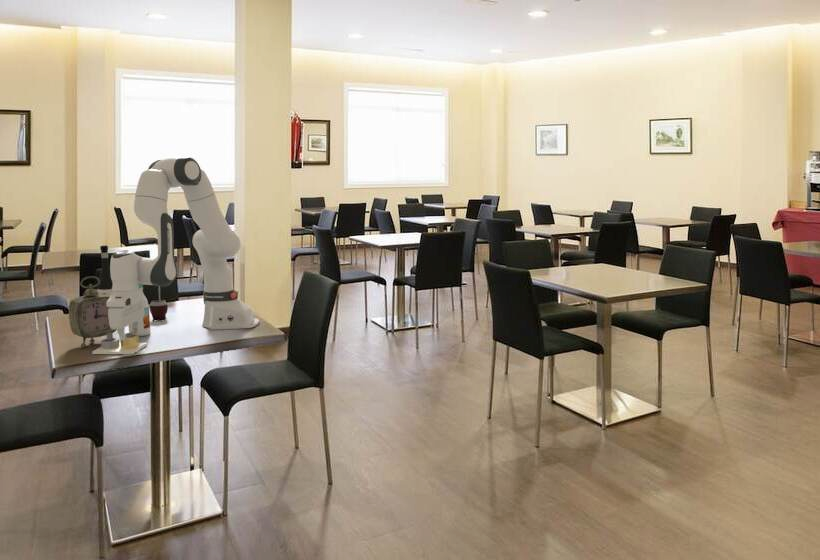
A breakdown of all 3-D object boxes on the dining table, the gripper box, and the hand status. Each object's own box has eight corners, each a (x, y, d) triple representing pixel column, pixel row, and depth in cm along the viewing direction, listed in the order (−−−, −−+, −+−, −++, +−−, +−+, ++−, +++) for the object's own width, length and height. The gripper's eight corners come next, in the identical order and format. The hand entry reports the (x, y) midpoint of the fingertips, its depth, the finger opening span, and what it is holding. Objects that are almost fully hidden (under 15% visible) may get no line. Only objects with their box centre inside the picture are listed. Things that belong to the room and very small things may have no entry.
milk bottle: (137, 337, 264) (134, 285, 261) (124, 335, 268) (120, 283, 265) (155, 333, 270) (151, 282, 267) (142, 331, 275) (138, 280, 271)
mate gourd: (156, 322, 290) (154, 286, 287) (146, 319, 294) (143, 284, 292) (172, 319, 296) (170, 284, 293) (161, 316, 300) (159, 282, 298)
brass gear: (125, 345, 249) (125, 334, 248) (140, 345, 249) (140, 334, 248) (119, 349, 244) (118, 337, 243) (134, 349, 243) (133, 337, 243)
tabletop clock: (80, 350, 247) (74, 280, 243) (69, 345, 253) (63, 277, 249) (120, 342, 258) (114, 275, 254) (108, 338, 264) (103, 272, 260)
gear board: (147, 346, 252) (145, 329, 251) (132, 355, 240) (131, 337, 239) (109, 345, 253) (107, 329, 252) (92, 354, 241) (91, 337, 240)
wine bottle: (114, 315, 303) (109, 246, 298) (96, 315, 303) (90, 246, 298) (122, 311, 311) (117, 244, 306) (104, 311, 311) (99, 244, 306)
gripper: (130, 292, 254) (133, 329, 256) (103, 303, 233) (106, 343, 236) (147, 292, 253) (150, 329, 256) (122, 303, 233) (125, 343, 235)
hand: (129, 336), depth 245 cm, fingers open, 8 cm apart
